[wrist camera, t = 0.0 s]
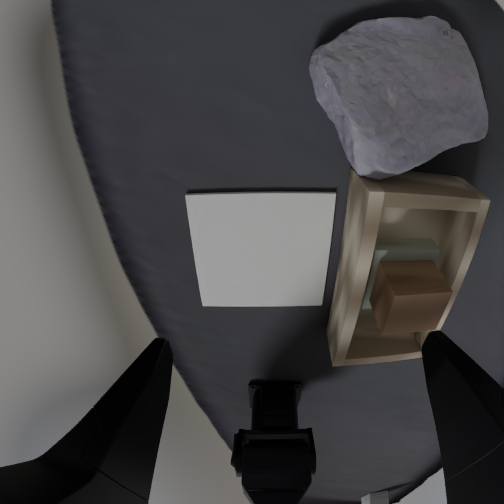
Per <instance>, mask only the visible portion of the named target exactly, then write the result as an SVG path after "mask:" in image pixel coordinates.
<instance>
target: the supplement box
mask: <svg viewBox="0 0 504 504" xmlns="http://www.w3.org/2000/svg"><path fill="white" fill-rule="evenodd" d="M361 499H362V504H389V500H388V493H387V491H382V492H376V493H370V494H368V495H366V496H364V497H361Z"/></svg>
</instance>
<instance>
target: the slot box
mask: <svg viewBox="0 0 504 504" xmlns="http://www.w3.org/2000/svg"><path fill="white" fill-rule="evenodd" d="M490 201H491V200H489V199H488V198H487V197H486V196H484V195H483V194H482V193H481V192H480V191H478V190H477V189H476V188H474V187H473V186H472V185H471V184H469V183H468V182H467V181H465V180H464V179H463V178H461V177H458V176H450V175H442V174H433V173H424V172H413V171H406V172H404V173H401V174H399V175H395V176H390V177H388V178H384V179H381V180H377V179H368V178H367V177H365V176H359V175H358V174H357V172H356V171H355V170H354V168H353V167H351V169H350V179H349V189H348V198H347V207H346V215H345V223H344V230H343V237H342V244H341V251H340V258H339V264H338V270H337V276H336V282H335V288H334V294H333V299H332V305H331V310H330V315H329V320H328V325H327V330H326V332H327V338H328V343H329V349H330V355H331V360H332V366H333V367H335V366H348V365H360V364H371V363H380V362H389V361H397V360H405V359H412V358H419V357H422V353H421V348H422V345H423V343H424V341H425V339H426V337H427V335H428V333H429V332H430V331H435V330H429V331H420V332H412V333H402V334H392V335H381V333H380V330H379V327H378V324H377V321H376V319H375V316H374V313H373V310H372V307H371V304H370V302H369V298H370V294H371V291H372V287H373V283H374V279H375V275H376V271H377V267H378V263H379V261H415V260H433V262H434V263H435V265H436V266H437V268H438V269H439V271H440V272H441V274H442V275H443V277H444V278H445V280H446V281H447V283H448V284H449V286H450V288H451V289H452V291H453V293H452V296H451V298H450V300H449V302H448V305H447V307H446V309H445V311H444V313H443V315H442V317H441V320H440V322H439V324H438V326H437V328H436V330H440V329H441V327H442V325H443V323H444V321H445V319H446V317H447V315H448V313H449V311H450V309H451V307H452V304H453V302H454V300H455V298H456V296H457V293H458V291H459V289H460V287H461V284H462V282H463V279H464V277H465V275H466V272H467V270H468V267H469V265H470V262H471V259H472V257H473V254H474V251H475V248H476V246H477V243H478V240H479V237H480V234H481V231H482V228H483V225H484V222H485V218H486V215H487V212H488V208H489V205H490Z"/></svg>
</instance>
